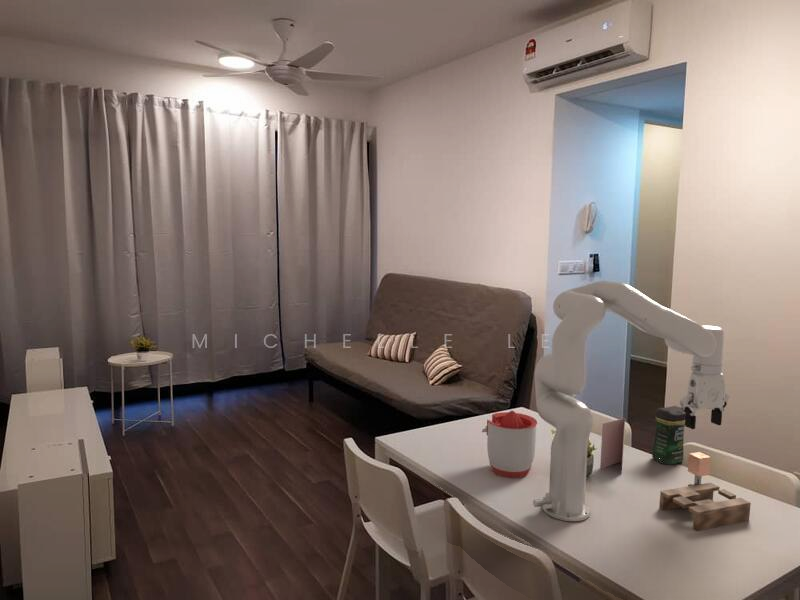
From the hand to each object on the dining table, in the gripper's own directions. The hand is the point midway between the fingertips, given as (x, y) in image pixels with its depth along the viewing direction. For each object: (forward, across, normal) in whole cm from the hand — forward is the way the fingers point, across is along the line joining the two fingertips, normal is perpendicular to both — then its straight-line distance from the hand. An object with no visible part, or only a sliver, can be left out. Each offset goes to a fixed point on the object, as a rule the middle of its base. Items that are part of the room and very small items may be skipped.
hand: (703, 425), depth 171 cm
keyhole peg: (+20, -1, 0) cm, 20 cm away
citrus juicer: (+20, -47, +31) cm, 60 cm away
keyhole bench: (+20, -10, -11) cm, 25 cm away
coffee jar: (+21, +9, +22) cm, 32 cm away
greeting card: (+20, -11, +22) cm, 32 cm away
